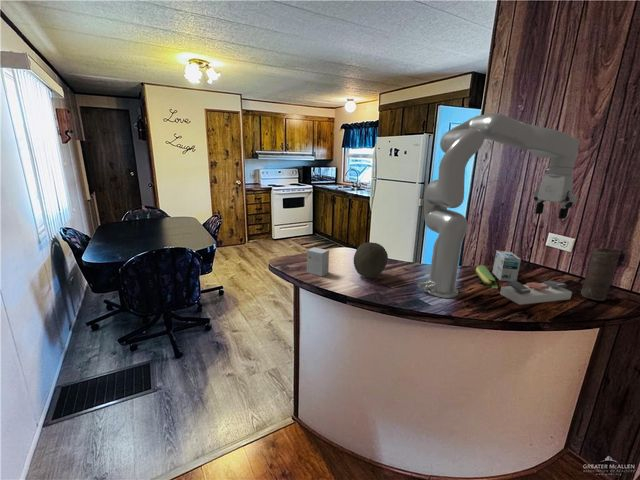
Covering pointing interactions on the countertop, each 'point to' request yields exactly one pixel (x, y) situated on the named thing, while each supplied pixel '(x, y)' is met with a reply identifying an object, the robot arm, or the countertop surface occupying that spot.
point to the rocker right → (554, 284)
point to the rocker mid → (537, 285)
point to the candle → (600, 273)
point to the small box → (317, 261)
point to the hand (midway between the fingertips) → (549, 216)
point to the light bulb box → (506, 266)
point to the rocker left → (519, 287)
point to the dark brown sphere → (370, 259)
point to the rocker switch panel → (536, 294)
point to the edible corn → (486, 276)
